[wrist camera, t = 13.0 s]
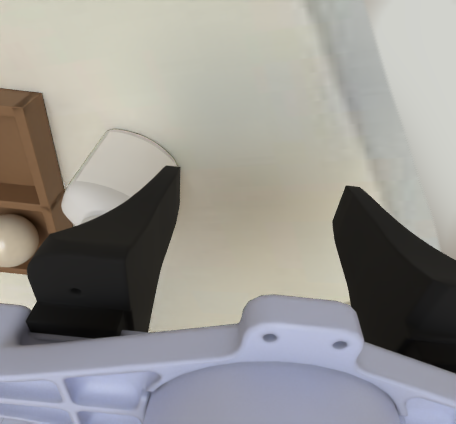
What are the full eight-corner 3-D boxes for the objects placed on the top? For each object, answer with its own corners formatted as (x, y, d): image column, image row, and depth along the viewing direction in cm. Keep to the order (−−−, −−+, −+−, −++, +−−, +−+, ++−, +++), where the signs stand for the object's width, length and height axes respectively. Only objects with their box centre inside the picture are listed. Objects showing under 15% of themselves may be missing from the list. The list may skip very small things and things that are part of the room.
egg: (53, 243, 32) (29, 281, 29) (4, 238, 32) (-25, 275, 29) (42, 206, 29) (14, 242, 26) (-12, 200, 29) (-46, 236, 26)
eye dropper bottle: (138, 109, 24) (67, 222, 15) (185, 170, 27) (151, 297, 18) (92, 138, 26) (1, 256, 16) (141, 193, 29) (88, 320, 19)
